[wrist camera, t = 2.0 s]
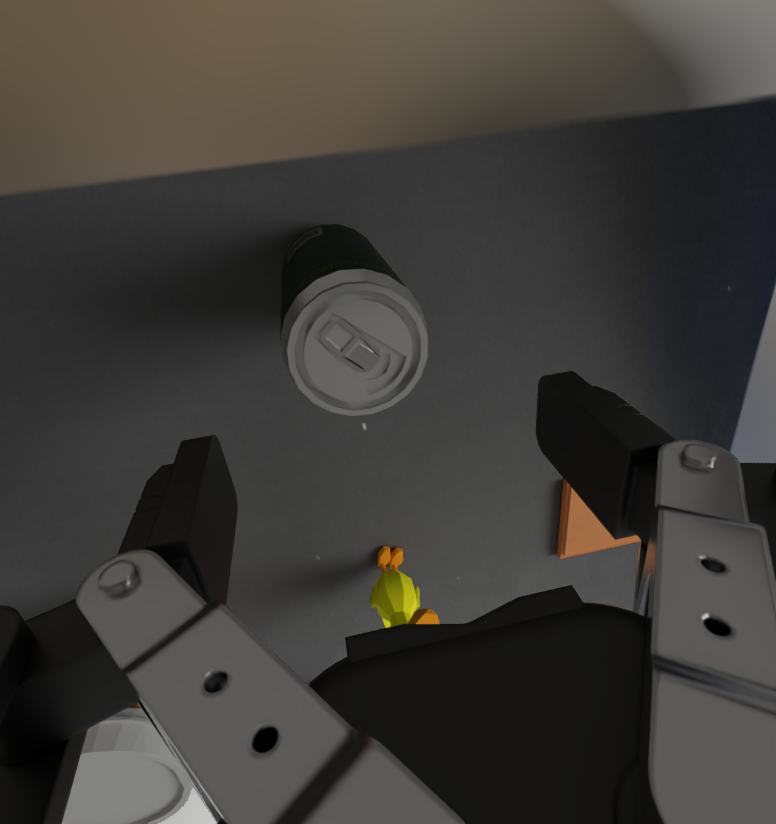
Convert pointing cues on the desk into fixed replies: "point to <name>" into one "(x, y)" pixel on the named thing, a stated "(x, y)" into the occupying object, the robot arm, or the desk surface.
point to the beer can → (349, 323)
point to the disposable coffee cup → (126, 774)
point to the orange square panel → (582, 528)
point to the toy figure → (397, 593)
